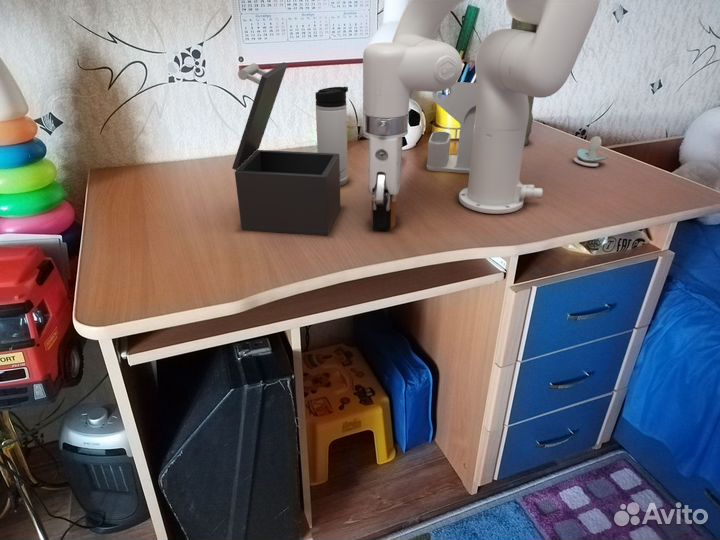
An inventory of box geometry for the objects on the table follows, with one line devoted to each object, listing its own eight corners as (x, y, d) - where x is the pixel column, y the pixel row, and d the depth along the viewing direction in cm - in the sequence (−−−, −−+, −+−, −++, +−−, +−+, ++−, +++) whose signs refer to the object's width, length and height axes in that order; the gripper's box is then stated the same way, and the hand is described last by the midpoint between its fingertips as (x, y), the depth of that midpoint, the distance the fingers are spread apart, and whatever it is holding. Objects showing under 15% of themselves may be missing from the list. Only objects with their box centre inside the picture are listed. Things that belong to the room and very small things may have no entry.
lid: (287, 64, 93) (260, 50, 93) (266, 77, 83) (235, 62, 82) (258, 148, 102) (233, 136, 101) (236, 170, 91) (207, 157, 91)
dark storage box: (340, 207, 105) (339, 153, 100) (327, 235, 95) (325, 176, 89) (262, 203, 108) (257, 149, 102) (241, 230, 97) (234, 172, 92)
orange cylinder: (396, 220, 101) (397, 195, 98) (394, 230, 97) (394, 204, 94) (372, 218, 101) (373, 193, 99) (369, 228, 97) (369, 203, 95)
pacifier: (591, 170, 124) (609, 165, 126) (596, 144, 121) (615, 139, 123) (566, 161, 129) (584, 156, 132) (571, 135, 126) (589, 131, 129)
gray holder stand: (424, 169, 124) (428, 88, 115) (429, 156, 133) (434, 79, 123) (501, 176, 120) (513, 93, 111) (502, 161, 129) (512, 83, 120)
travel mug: (345, 188, 114) (344, 91, 104) (315, 186, 115) (311, 89, 105) (352, 178, 119) (351, 84, 109) (323, 176, 121) (319, 83, 111)
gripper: (403, 139, 82) (399, 246, 91) (411, 112, 96) (407, 206, 106) (355, 137, 83) (355, 243, 92) (370, 110, 97) (369, 204, 107)
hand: (383, 222), depth 99 cm, fingers closed on orange cylinder, 4 cm apart
